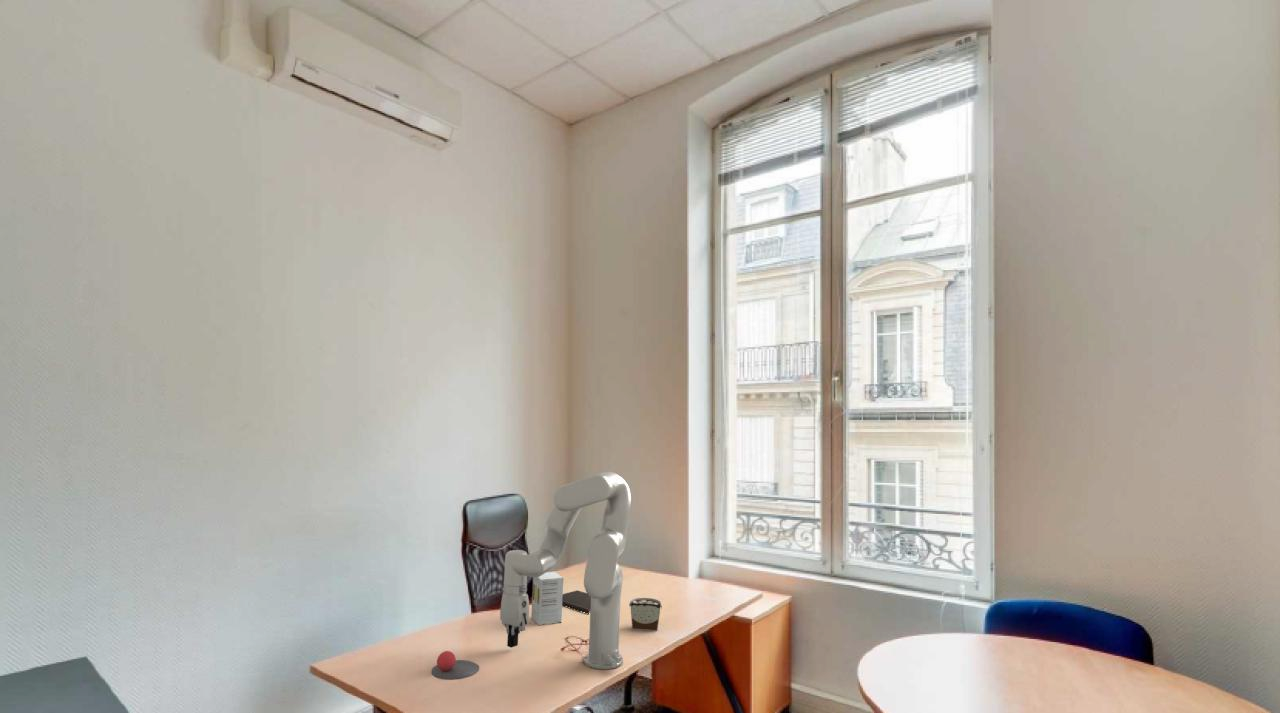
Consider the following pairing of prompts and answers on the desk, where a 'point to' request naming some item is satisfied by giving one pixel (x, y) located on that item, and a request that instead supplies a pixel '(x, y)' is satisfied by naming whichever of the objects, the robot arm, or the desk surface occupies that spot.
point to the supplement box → (547, 598)
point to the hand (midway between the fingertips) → (512, 645)
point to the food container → (645, 613)
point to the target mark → (457, 670)
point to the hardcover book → (577, 601)
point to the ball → (446, 661)
